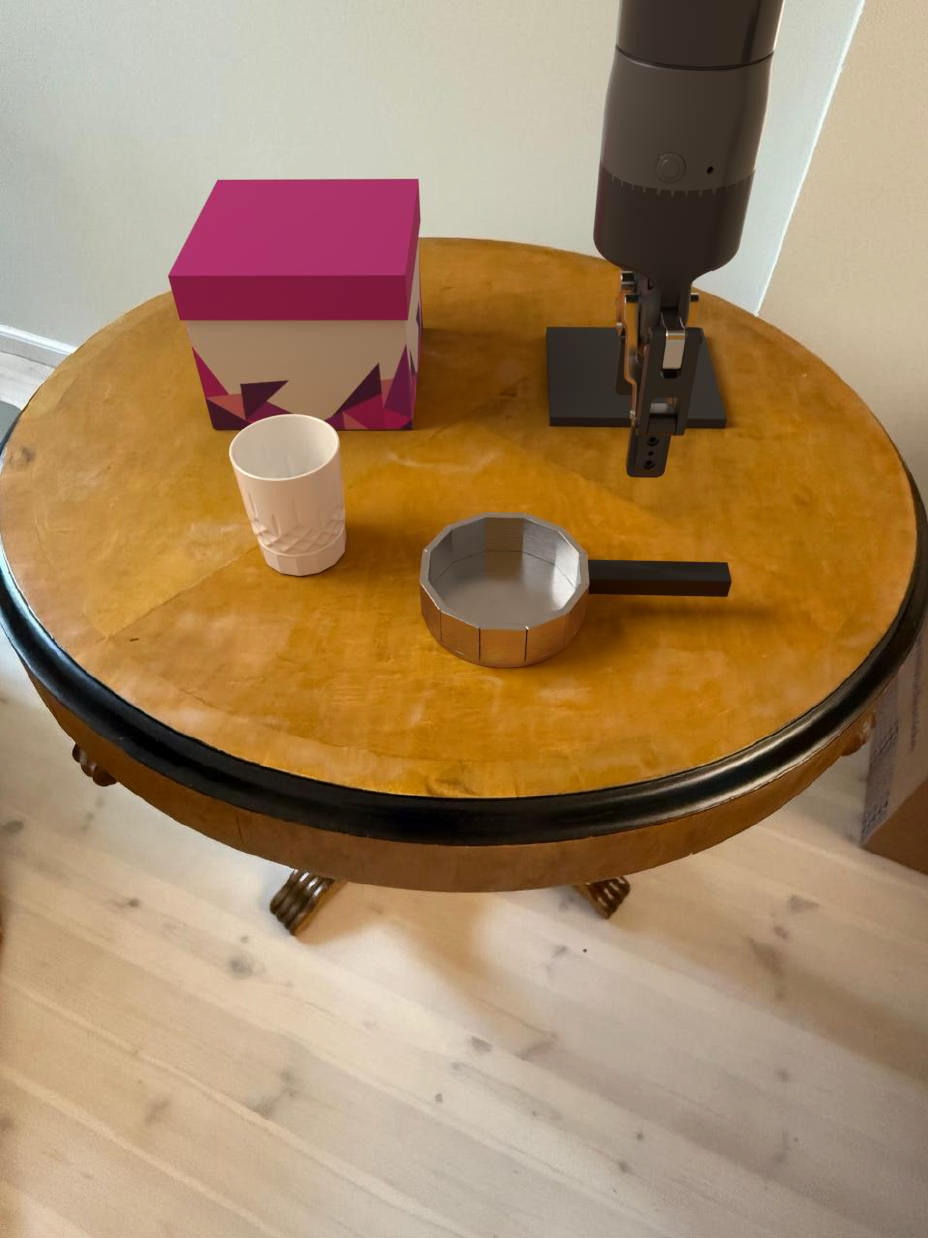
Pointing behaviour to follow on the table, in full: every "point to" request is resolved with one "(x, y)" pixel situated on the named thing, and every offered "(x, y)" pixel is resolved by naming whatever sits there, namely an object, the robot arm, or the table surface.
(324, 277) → the decorative box
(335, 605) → the table surface
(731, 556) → the table surface
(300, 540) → the white cup
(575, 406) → the trivet
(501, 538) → the steel pan
